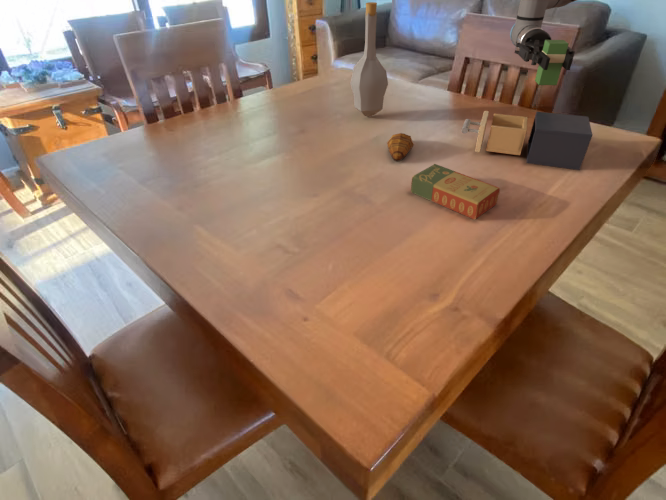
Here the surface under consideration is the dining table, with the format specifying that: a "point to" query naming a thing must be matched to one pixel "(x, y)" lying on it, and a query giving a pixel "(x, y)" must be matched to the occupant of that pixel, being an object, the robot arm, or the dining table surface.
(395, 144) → the croissant
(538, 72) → the block
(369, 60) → the bottle
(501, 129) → the drawer
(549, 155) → the cabinet
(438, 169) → the carton
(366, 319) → the dining table surface
